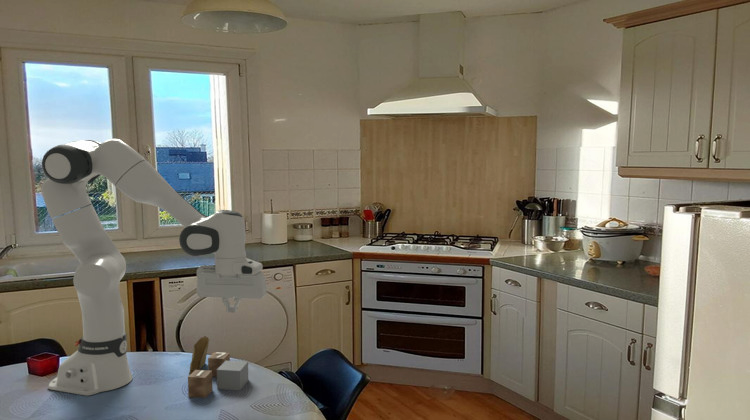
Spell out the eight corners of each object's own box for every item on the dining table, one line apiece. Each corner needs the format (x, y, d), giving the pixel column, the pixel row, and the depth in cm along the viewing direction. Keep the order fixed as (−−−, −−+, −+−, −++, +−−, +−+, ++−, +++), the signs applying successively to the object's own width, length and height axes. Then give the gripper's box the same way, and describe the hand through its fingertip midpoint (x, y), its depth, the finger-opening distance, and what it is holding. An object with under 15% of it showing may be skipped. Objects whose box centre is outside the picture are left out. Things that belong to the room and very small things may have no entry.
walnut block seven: (208, 376, 167) (207, 357, 166) (214, 370, 172) (214, 351, 171) (224, 377, 166) (223, 358, 166) (230, 371, 171) (229, 352, 170)
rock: (200, 371, 165) (221, 355, 174) (184, 348, 166) (206, 334, 174) (181, 385, 170) (203, 369, 179) (166, 363, 170) (188, 348, 179)
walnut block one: (188, 397, 153) (187, 376, 152) (196, 389, 158) (195, 369, 157) (205, 398, 152) (205, 377, 152) (212, 390, 157) (212, 369, 157)
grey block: (217, 389, 158) (216, 369, 158) (226, 379, 165) (225, 360, 164) (240, 390, 158) (240, 370, 157) (248, 380, 164) (248, 361, 164)
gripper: (191, 267, 155) (193, 313, 157) (261, 268, 153) (262, 316, 155) (201, 262, 162) (202, 307, 163) (267, 264, 160) (268, 309, 161)
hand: (232, 311), depth 159 cm, fingers closed
